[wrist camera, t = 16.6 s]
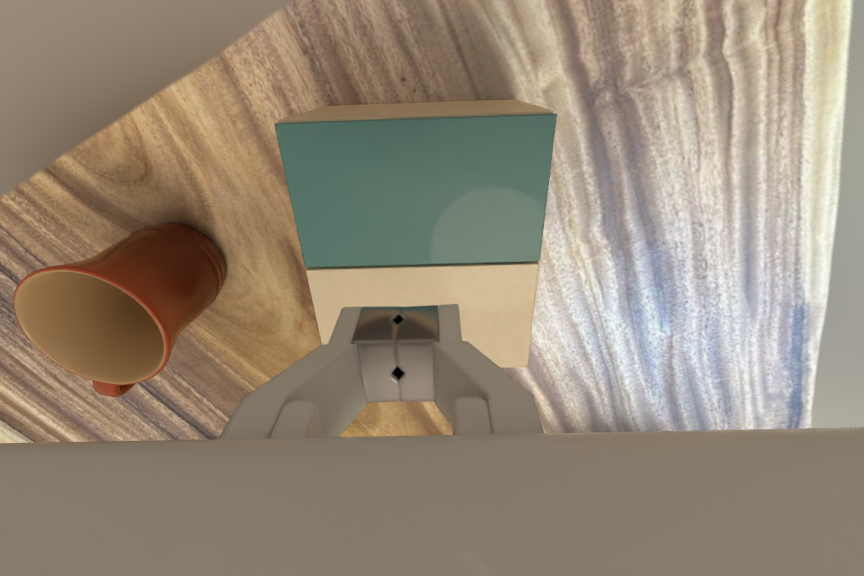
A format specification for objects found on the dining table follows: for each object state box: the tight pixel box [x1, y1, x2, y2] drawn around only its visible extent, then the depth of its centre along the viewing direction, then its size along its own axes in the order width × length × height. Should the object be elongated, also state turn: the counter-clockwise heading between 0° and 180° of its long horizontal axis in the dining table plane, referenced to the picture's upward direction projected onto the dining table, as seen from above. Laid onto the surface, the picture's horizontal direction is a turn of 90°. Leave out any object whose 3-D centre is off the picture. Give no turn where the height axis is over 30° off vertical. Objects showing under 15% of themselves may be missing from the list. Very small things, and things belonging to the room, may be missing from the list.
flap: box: [275, 113, 557, 267], centre depth 19 cm, size 7×13×1 cm, turn 92°
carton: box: [279, 99, 553, 368], centre depth 25 cm, size 15×13×10 cm
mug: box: [13, 224, 226, 397], centre depth 28 cm, size 12×9×10 cm
